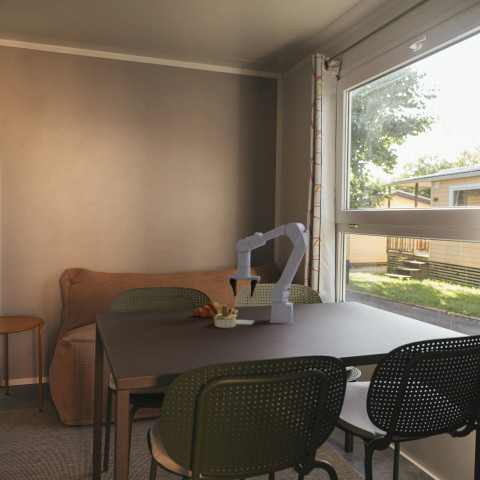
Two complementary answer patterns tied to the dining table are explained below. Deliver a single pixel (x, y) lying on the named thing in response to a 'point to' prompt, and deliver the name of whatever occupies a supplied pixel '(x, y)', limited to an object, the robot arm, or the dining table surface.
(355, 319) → the dining table surface
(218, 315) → the lid
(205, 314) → the croissant
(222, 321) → the bowl
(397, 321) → the dining table surface
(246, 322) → the plate
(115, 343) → the dining table surface
